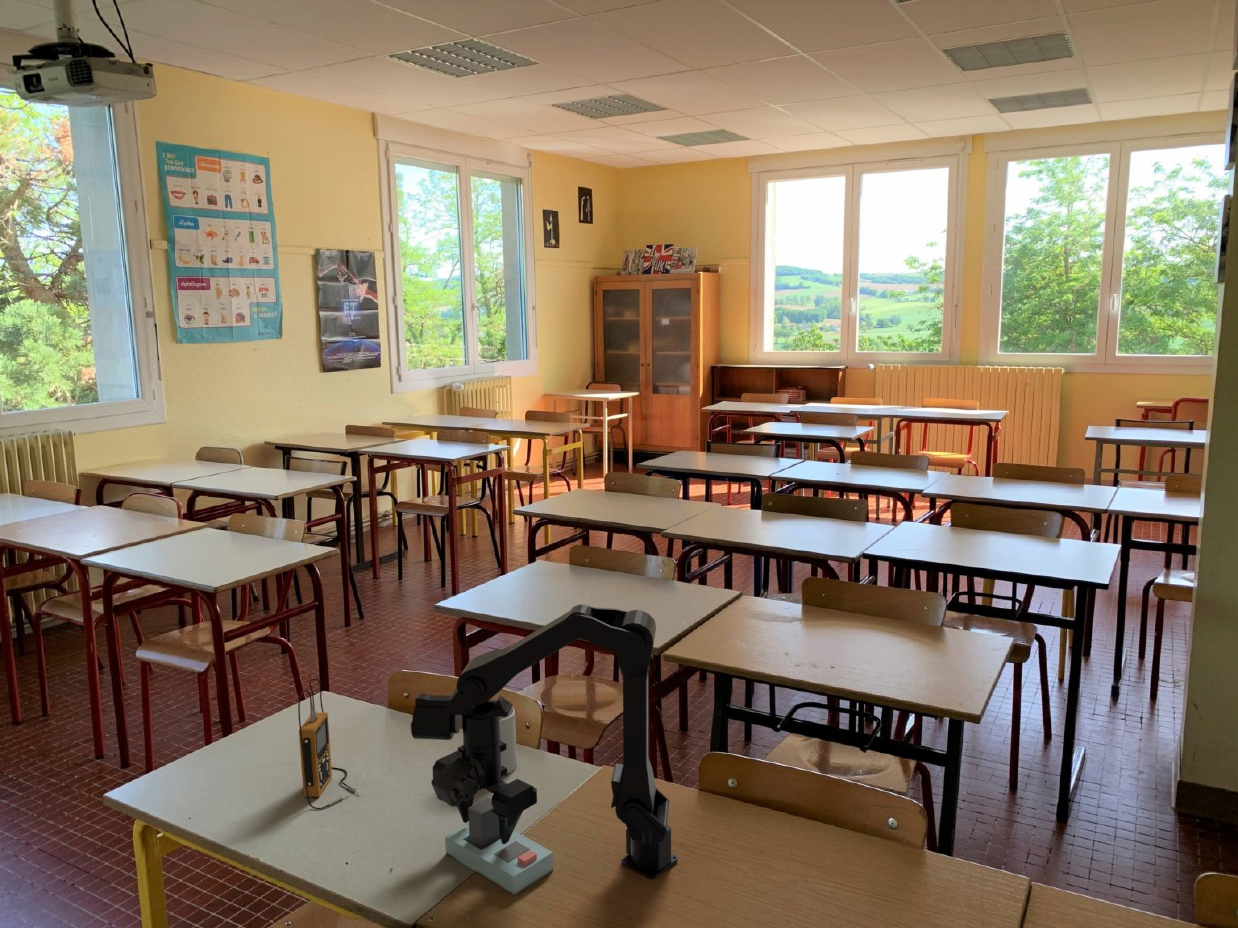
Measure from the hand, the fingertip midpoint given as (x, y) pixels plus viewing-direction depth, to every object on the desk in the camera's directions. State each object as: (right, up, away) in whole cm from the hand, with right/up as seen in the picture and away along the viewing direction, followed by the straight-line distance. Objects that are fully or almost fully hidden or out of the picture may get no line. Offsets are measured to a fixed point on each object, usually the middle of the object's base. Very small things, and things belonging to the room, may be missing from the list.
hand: (485, 832), depth 143 cm
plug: (0, -3, +1) cm, 4 cm away
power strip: (+2, -4, -1) cm, 5 cm away
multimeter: (-30, -1, +21) cm, 36 cm away
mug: (-2, +1, +30) cm, 30 cm away
